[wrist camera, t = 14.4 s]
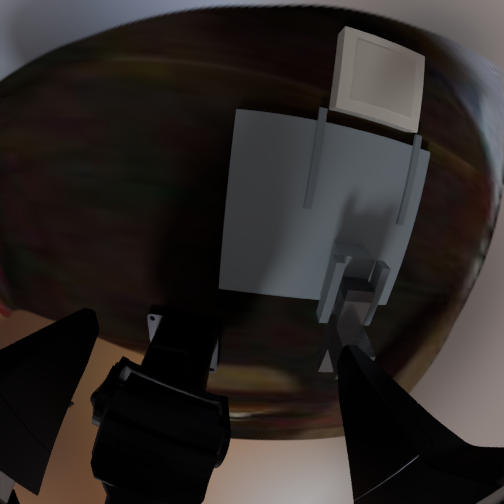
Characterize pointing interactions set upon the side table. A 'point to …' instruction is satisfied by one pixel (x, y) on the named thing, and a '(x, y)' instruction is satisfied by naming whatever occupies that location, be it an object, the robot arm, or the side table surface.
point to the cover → (377, 80)
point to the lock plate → (317, 208)
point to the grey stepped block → (346, 323)
